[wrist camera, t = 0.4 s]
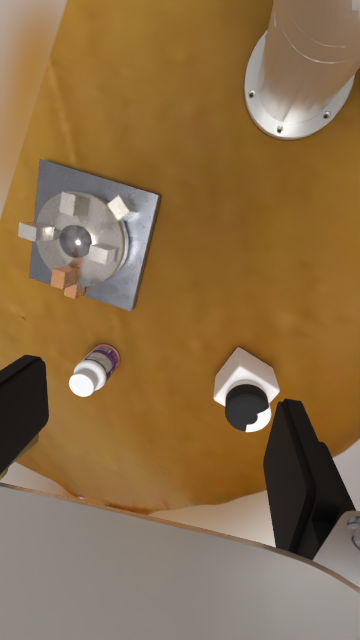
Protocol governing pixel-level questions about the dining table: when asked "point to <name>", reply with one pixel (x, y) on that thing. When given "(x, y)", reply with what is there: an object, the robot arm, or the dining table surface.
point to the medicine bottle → (246, 391)
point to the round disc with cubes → (78, 241)
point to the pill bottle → (94, 370)
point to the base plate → (135, 230)
